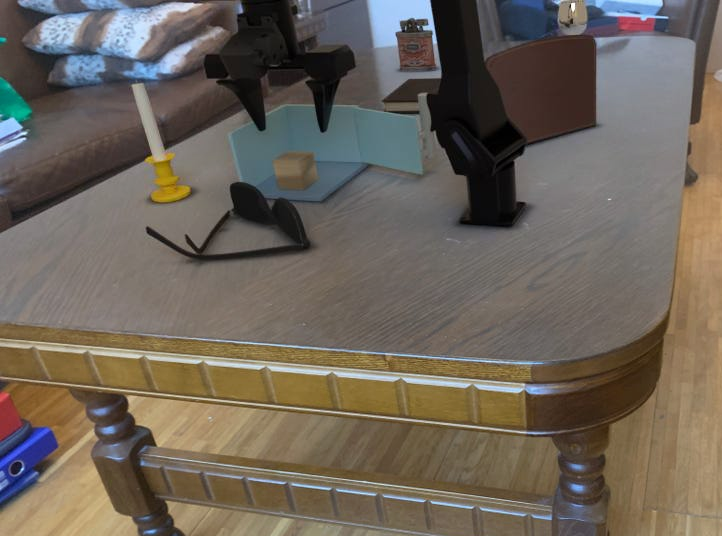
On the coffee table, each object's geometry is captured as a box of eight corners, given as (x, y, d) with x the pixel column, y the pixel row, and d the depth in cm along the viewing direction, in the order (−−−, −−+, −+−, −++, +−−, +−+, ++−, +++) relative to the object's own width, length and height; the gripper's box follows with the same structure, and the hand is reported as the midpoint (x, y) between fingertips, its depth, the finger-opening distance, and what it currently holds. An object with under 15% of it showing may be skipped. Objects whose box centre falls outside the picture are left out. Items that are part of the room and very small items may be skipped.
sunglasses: (138, 250, 90) (124, 210, 87) (246, 212, 98) (236, 174, 95) (205, 291, 79) (192, 248, 77) (320, 244, 88) (311, 203, 85)
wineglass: (553, 66, 154) (551, 2, 148) (577, 62, 156) (577, -2, 150) (567, 71, 150) (566, 5, 143) (592, 66, 152) (593, 1, 145)
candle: (151, 193, 107) (114, 78, 99) (190, 186, 108) (157, 72, 100) (152, 205, 103) (113, 86, 94) (192, 197, 104) (157, 79, 96)
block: (304, 190, 101) (298, 161, 99) (278, 189, 103) (271, 160, 101) (318, 180, 105) (313, 151, 102) (293, 179, 106) (287, 150, 104)
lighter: (397, 71, 161) (391, 20, 156) (403, 67, 164) (397, 17, 159) (433, 71, 159) (427, 19, 154) (438, 67, 162) (433, 16, 156)
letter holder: (597, 125, 118) (598, 28, 111) (492, 156, 110) (485, 52, 102) (557, 113, 125) (555, 21, 118) (455, 141, 117) (446, 43, 109)
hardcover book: (512, 112, 128) (511, 98, 127) (383, 113, 133) (381, 100, 132) (528, 88, 141) (528, 75, 140) (410, 90, 146) (409, 77, 145)
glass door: (443, 164, 105) (436, 93, 100) (421, 174, 102) (412, 102, 97) (384, 152, 111) (374, 85, 106) (361, 162, 109) (350, 93, 104)
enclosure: (321, 201, 99) (308, 136, 95) (243, 197, 103) (226, 133, 98) (368, 165, 110) (358, 105, 106) (296, 162, 114) (283, 104, 109)
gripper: (157, 14, 87) (195, 149, 96) (298, 9, 82) (326, 153, 90) (215, -2, 96) (245, 123, 105) (346, -7, 90) (367, 125, 99)
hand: (292, 131), depth 99 cm, fingers open, 9 cm apart
